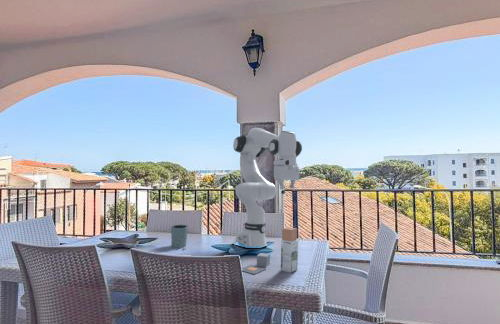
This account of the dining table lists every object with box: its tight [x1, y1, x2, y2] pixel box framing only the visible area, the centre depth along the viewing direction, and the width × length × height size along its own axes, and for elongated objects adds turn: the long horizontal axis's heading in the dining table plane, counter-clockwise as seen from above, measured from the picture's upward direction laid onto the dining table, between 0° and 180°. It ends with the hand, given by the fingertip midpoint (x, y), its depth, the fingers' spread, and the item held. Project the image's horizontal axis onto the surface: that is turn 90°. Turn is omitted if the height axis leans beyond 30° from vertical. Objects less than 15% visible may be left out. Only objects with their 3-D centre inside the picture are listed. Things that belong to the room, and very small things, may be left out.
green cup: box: [170, 224, 189, 249], centre depth 180 cm, size 10×10×12 cm
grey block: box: [256, 252, 271, 268], centre depth 147 cm, size 5×5×5 cm
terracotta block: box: [281, 226, 298, 241], centre depth 140 cm, size 5×5×5 cm
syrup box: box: [280, 238, 299, 274], centre depth 140 cm, size 6×6×14 cm
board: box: [241, 264, 267, 275], centre depth 140 cm, size 9×9×1 cm
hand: (287, 188), depth 154 cm, fingers open, 8 cm apart
